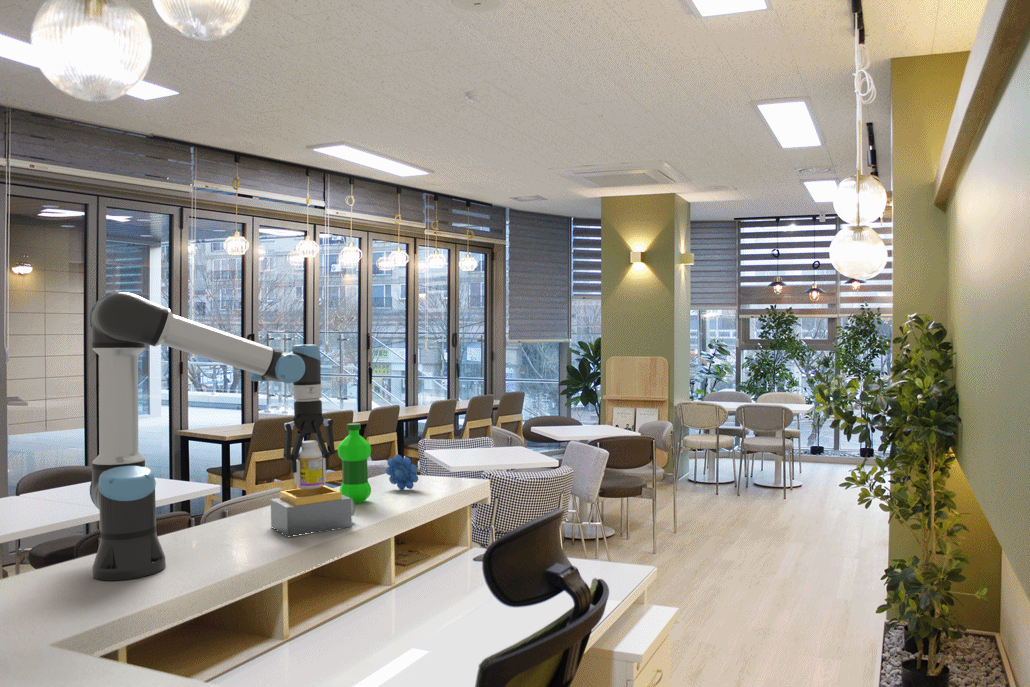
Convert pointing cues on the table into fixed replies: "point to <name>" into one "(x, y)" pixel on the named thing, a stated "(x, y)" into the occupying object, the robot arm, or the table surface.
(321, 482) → the supplement bottle
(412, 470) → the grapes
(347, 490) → the plastic bottle
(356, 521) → the table surface
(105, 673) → the table surface
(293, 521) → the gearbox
